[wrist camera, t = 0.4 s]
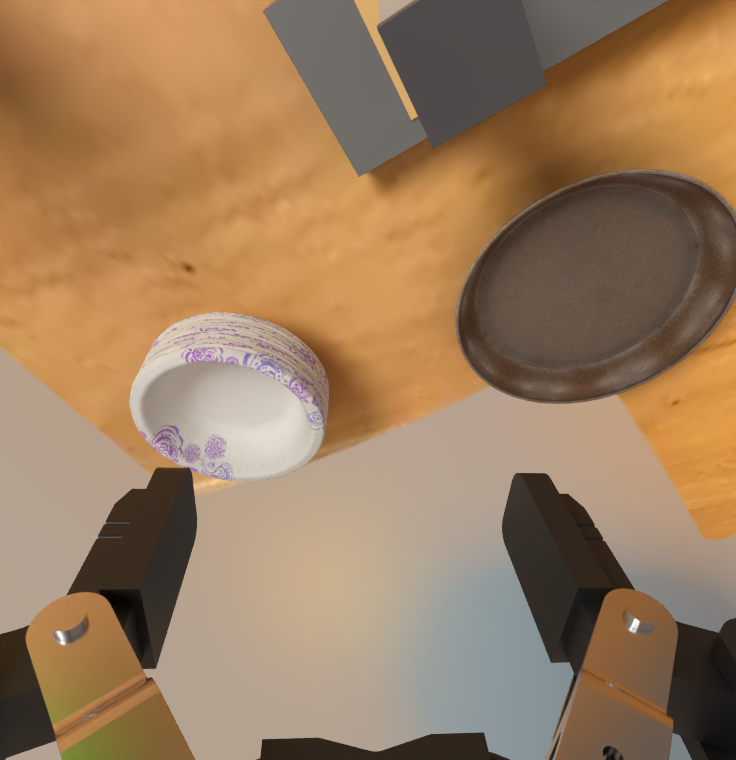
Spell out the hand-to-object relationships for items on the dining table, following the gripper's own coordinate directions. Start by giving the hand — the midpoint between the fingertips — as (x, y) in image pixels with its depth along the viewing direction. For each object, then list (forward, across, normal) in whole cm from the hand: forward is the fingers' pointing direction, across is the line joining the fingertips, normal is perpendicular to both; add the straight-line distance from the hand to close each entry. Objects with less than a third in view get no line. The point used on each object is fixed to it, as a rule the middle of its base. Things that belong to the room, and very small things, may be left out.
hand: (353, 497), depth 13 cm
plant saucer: (+29, -19, +3) cm, 35 cm away
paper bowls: (+33, +8, +12) cm, 36 cm away
